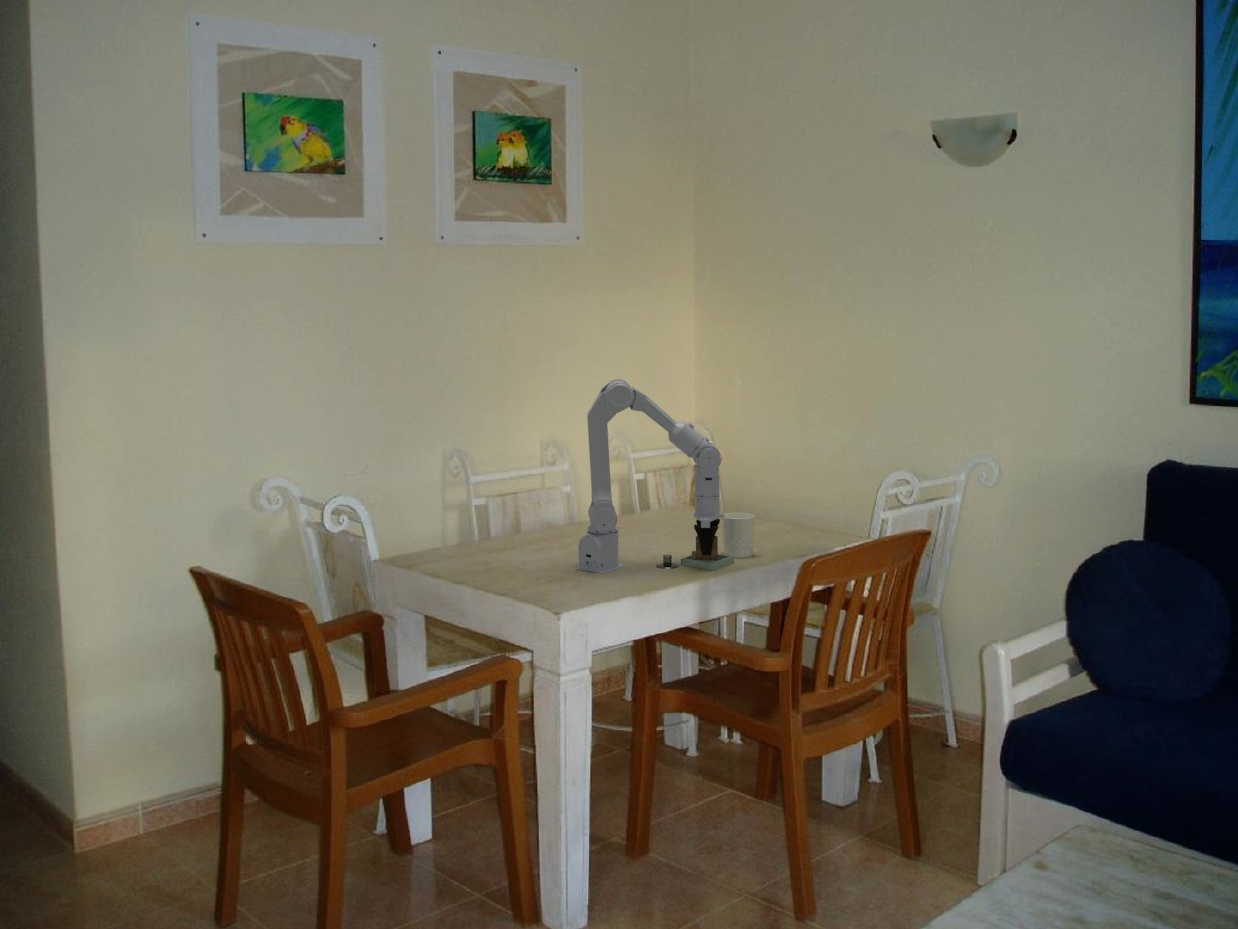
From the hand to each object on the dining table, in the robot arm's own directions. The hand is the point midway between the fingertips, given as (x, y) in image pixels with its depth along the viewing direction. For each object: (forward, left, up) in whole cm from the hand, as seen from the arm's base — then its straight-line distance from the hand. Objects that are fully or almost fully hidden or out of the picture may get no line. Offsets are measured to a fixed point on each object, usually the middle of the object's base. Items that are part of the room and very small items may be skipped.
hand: (707, 552), depth 301 cm
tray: (0, 0, -3) cm, 3 cm away
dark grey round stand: (-7, +6, -3) cm, 10 cm away
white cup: (+13, -1, -3) cm, 13 cm away
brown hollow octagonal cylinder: (0, 0, -1) cm, 1 cm away
